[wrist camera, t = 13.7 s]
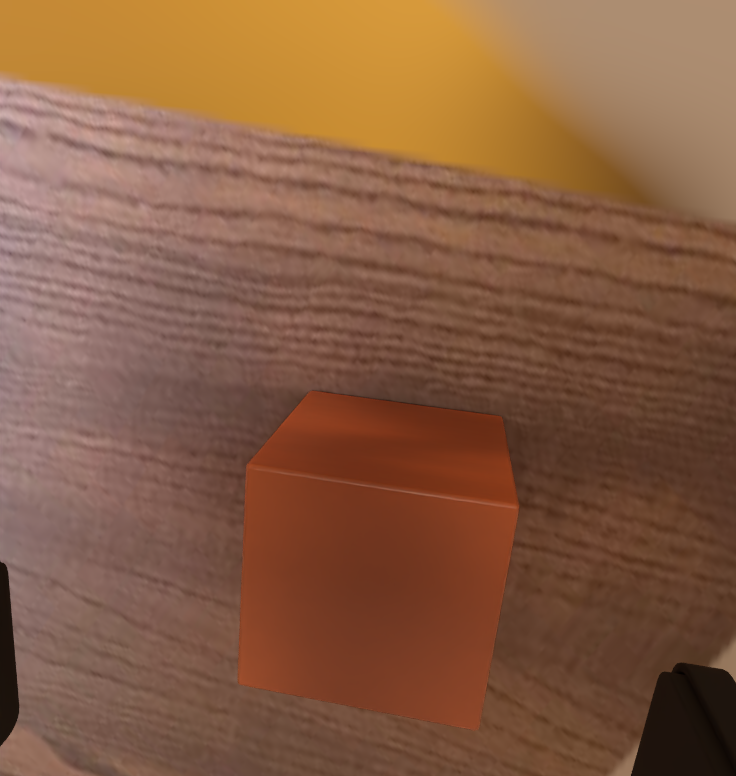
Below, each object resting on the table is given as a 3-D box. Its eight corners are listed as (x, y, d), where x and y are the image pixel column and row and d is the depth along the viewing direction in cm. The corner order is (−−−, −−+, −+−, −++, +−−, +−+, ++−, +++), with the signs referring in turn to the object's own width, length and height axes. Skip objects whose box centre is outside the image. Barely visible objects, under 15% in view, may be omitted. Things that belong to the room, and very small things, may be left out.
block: (503, 415, 14) (521, 505, 10) (475, 587, 15) (479, 733, 11) (309, 389, 14) (244, 464, 10) (297, 557, 16) (236, 686, 11)
